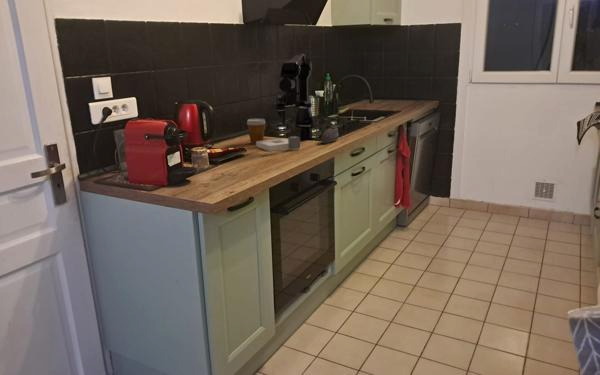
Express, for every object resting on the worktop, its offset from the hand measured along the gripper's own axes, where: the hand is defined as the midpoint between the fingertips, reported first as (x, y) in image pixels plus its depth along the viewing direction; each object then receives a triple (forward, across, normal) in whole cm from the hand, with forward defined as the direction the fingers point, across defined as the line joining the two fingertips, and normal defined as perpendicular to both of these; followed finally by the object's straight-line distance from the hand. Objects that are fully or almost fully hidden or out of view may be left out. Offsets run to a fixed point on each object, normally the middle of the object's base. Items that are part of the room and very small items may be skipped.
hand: (292, 123), depth 229 cm
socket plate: (+12, +2, -10) cm, 16 cm away
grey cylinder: (+12, -1, +1) cm, 12 cm away
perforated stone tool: (+12, -24, -4) cm, 28 cm away
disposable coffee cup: (+12, +6, -24) cm, 28 cm away
